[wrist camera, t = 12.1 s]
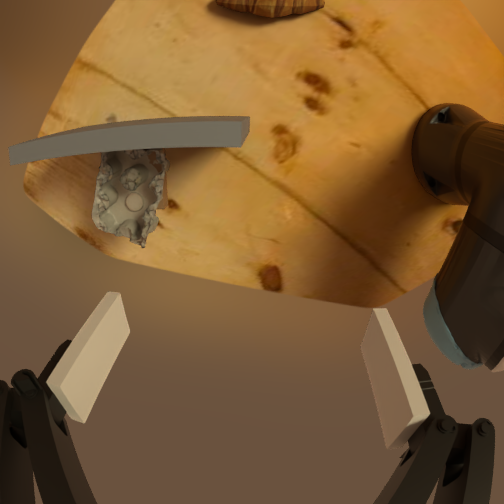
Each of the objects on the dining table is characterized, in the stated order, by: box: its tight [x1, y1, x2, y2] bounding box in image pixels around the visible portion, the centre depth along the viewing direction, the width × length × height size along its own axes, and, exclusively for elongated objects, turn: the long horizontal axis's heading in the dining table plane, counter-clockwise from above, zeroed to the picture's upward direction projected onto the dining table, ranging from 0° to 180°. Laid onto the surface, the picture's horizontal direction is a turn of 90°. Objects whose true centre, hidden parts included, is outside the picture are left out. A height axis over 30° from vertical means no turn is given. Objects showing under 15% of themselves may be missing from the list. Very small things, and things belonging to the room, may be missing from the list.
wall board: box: [9, 116, 250, 209], centre depth 30 cm, size 24×10×16 cm, turn 88°
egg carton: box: [92, 148, 170, 248], centre depth 30 cm, size 11×8×4 cm
